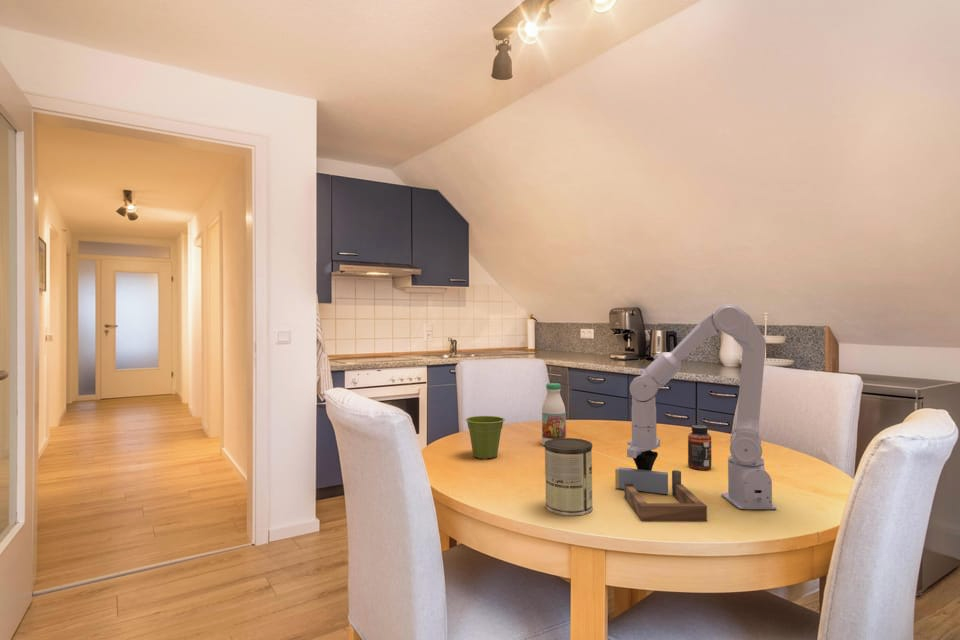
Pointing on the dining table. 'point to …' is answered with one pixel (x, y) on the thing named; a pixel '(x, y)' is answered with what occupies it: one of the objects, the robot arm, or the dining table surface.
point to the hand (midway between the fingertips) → (644, 481)
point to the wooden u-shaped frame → (668, 504)
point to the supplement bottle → (699, 448)
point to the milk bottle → (553, 414)
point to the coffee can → (568, 476)
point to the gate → (642, 479)
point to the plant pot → (485, 435)
